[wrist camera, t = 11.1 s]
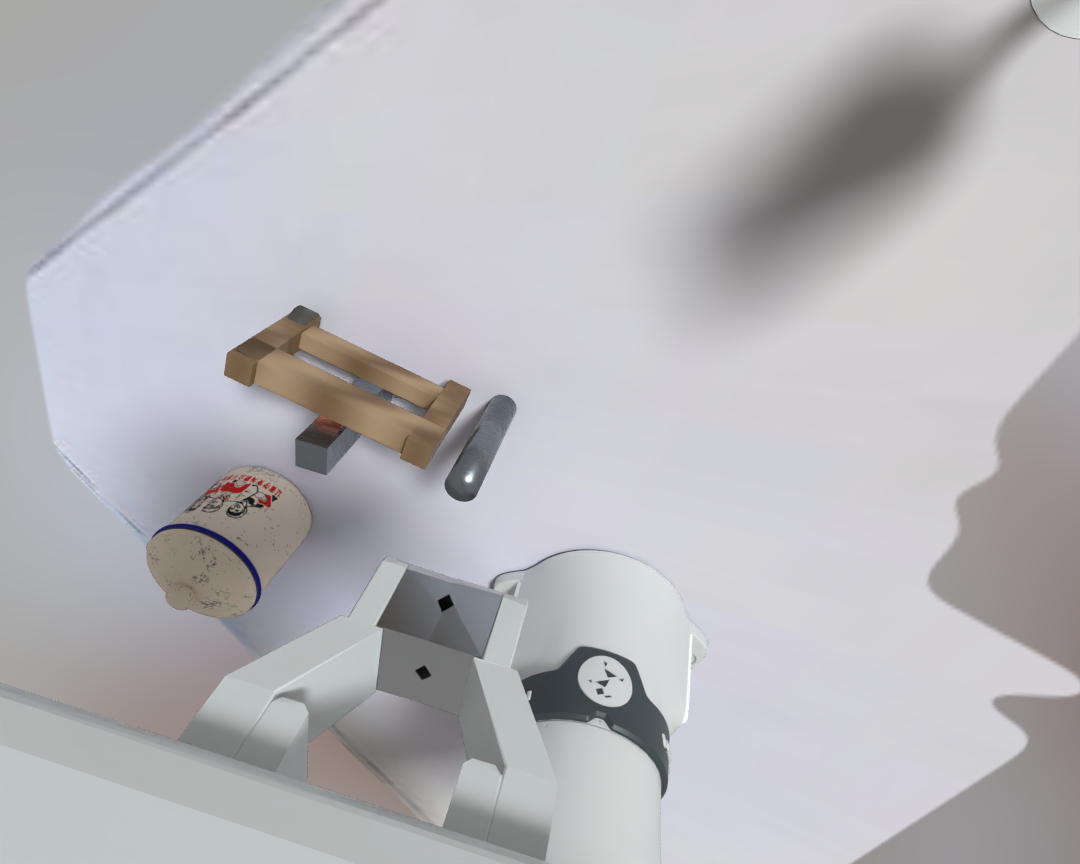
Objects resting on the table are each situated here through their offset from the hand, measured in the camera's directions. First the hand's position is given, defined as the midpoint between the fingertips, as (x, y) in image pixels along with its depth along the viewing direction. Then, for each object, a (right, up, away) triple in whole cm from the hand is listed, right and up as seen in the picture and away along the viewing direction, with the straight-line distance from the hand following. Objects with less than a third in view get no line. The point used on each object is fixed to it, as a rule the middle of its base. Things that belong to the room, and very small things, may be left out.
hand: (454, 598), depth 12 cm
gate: (-9, +9, +31) cm, 33 cm away
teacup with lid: (-24, -3, +42) cm, 48 cm away
